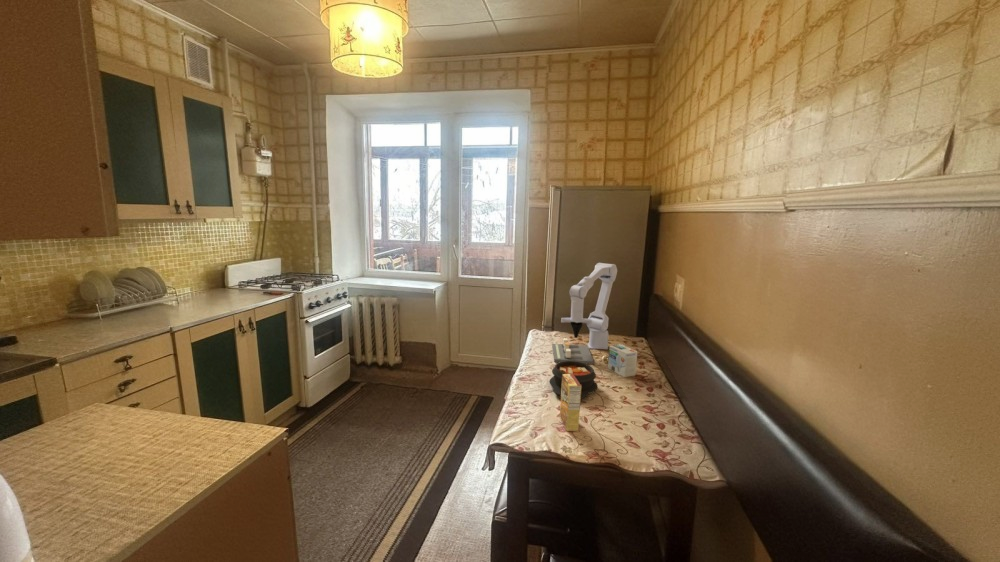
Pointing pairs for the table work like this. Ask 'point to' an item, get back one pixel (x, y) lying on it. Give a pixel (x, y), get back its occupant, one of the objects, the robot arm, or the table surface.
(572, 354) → the breaker panel
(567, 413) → the candy box
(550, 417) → the table surface
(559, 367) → the casserole
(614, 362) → the light bulb box
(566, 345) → the handle
